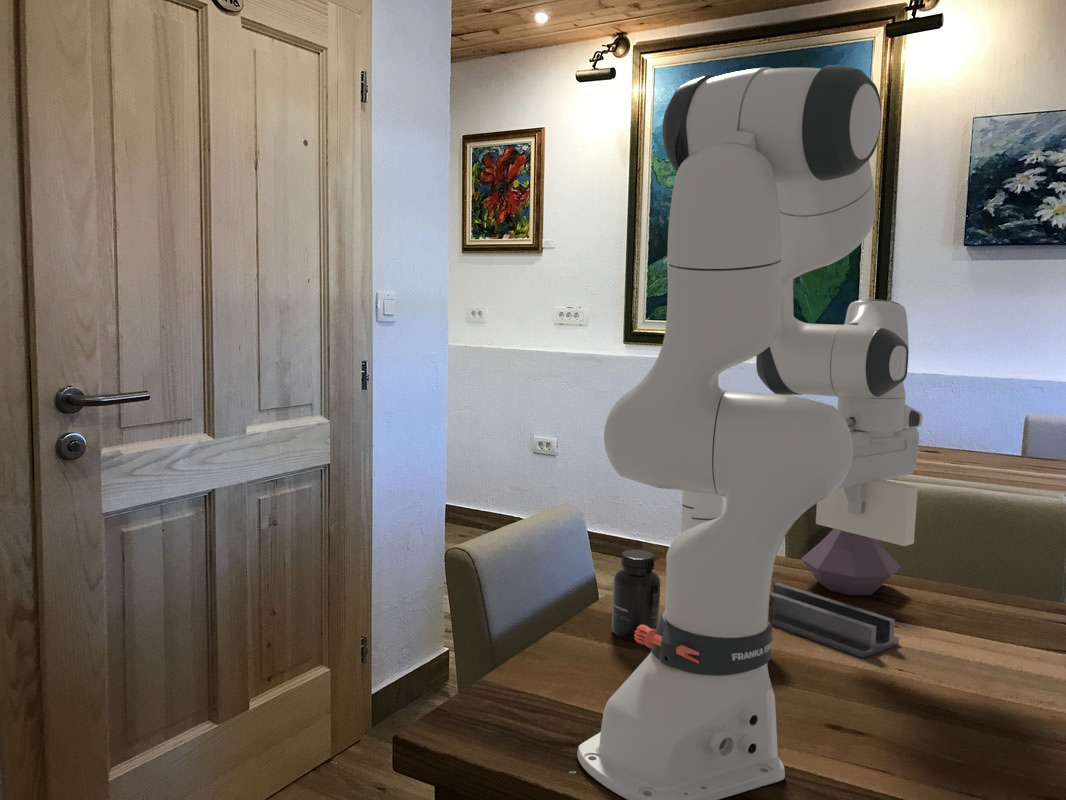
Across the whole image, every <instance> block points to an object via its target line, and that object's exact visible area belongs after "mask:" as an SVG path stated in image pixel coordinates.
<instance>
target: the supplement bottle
mask: <svg viewBox="0 0 1066 800" xmlns="http://www.w3.org/2000/svg"><path fill="white" fill-rule="evenodd" d="M655 557H656V556H655V554H654V553H652V552H650V551H648V550H642V549H629V550H624V551H623V552H622V553H621V561H620V566H621V568H620V569H619V570H617V571H616V572H615V574H614V577H613V588H612V589H613V592H612V593H613V594H612V612H611V614H612V615H611V630H612V632H613V634H614V635H615V636H616V637H618V638H621V639H622V640H627V641H633V642H636V640H635V639H634V638H636V637H634V635H635V634H636V633H635V631H636V630H638V629H637V627H638V626H640V625H646V626H648V627H649V628H650V629H655V630H656V628H657V625H658V622H659V619H660V602H661V601H660V599H661V578H660V575H659V574H658V573H657V572H656V571H655V570H654V569H655V567H656V564H655V559H656V558H655Z"/></svg>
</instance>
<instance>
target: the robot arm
mask: <svg viewBox="0 0 1066 800" xmlns="http://www.w3.org/2000/svg"><path fill="white" fill-rule="evenodd" d="M881 127H882V102H881V97H880V92H879V90H878V88H877V86H876V84H875V83H874V81H872V79H871V78H870V77H869V76H868V75H867V74H866V72H864V71H863V70H861V69H860V68H856V67H851V66H847V65H846V66H845V65H835V64H834V65H833V64H827V65H825V66H823V67H821V68H820V67H819V68H818V67H779V68H772V67H770V66H768V67H767V66H765V67H758V68H756V67H755V68H750V69H745V70H739V71H733V72H730V73H729V72H728V73H725V74H721V75H715V74H707V75H703V76H701V77H698V78H697V77H696V78H695V79H692V80H690V81H688V82H685V83H684V84H682V85H680V86H679V87H678V88H677V89H676V90H675V92H674V93H673V95H672V97H671V99H670V100H669V102H668V104H667V106H666V109H665V111H664V115H663V121H662V128H661V129H662V131H661V132H662V141H663V146H664V150H665V153H666V156H667V159H668V160H669V163H670V165H671V166H672V168H673V169H674V171H675V172H676V175H675V177H674V178H675V179H674V182H673V183H674V184H673V188H672V195H671V200H670V208H669V218H668V228H667V265H666V266H667V299H666V300H667V301H666V302H667V303H666V304H667V305H666V309H667V310H666V317H665V319H666V321H665V330H664V336H663V341H662V345H661V348H660V350H659V353H658V356H657V358H656V360H655V362H654V363H653V366H652V367H651V369H650V370H649V372H648V373H647V374H646V375H645V376H644V377H643V379H641V380H640V382H639V383H638V384H637V385H635V386H634V387H633V388H631V389H630V390H629V391H627V392H626V393H625V394H623V395H622V396H621V397H620V398H619V399H618V400H617V401H616V402H615V404H614V405H613V407H612V408H611V410H610V412H609V413H608V416H607V419H606V422H605V425H604V431H603V432H604V433H603V443H604V449H605V453H606V456H607V459H608V460H609V462H610V465H611V466H612V468H613V469H614V471H616V473H617V474H618V475H619V476H620V477H622V478H625V479H628V480H631V481H635V482H637V483H640V484H642V485H643V484H644V485H647V486H651V487H653V488H658V489H663V490H664V489H665V490H675V491H682V492H683V491H692V492H702V493H712V494H718V495H721V496H723V498H725V503H726V504H725V510H724V513H722V516H720V517H718V518H716V519H713V520H711V521H707V522H705V523H702V524H699V525H696V526H694V527H692V528H690V529H688V530H686V531H684V532H682V533H681V532H680V533H679V534H678V535H677V536H676V537H675V538H674V539H673V540H672V542H671V543H670V545H669V547H668V550H667V552H666V559H665V585H664V586H665V587H664V588H665V589H664V610H663V611H662V612H661V614H660V616H659V622H658V625H657V628H656V630H655V629H650V628H649V627H648V626H646V625H640V626H638V627H637V629H638V630H636V631H635V633H636V634H635V635H634V637H636V638H634V639H635V640H636V641H635V642H636V643H637V644H640V645H645V646H646V647H647V648H649V649H650V652H649V654H648V655H647V656H646V657H645V658H644V659H643V661H641V663H640V664H639V665H638V666H637V667H636V669H634V671H633V672H632V673H631V674H630V676H628V678H627V679H626V680H625V681H624V682H623V684H621V686H620V687H619V688H618V689H617V690H616V691H615V692H614V693H613V694H612V695H611V696H610V697H609V699H608V700H607V701H606V704H605V707H604V709H603V714H602V720H601V726H600V727H601V728H600V731H599V732H598V733H597V734H595V735H593V736H591V737H590V738H588V739H587V740H585V741H584V742H582V743H581V744H579V745H578V747H577V755H576V756H577V760H578V762H579V764H580V765H581V766H582V768H583V769H584V770H585V771H586V772H587V774H589V775H590V776H591V777H592V778H593V779H595V780H596V781H597V782H599V783H600V784H601V785H602V786H604V787H605V788H606V789H609V790H611V791H612V792H613V793H615V794H617V795H618V796H621V797H622V798H624V799H626V800H721V799H724V798H727V797H732V796H734V795H738V794H742V793H745V792H747V791H748V792H749V791H751V790H755V789H758V788H761V787H763V786H768V785H771V784H775V783H778V782H781V781H783V780H784V779H785V778H786V777H785V776H786V775H785V774H786V772H785V765H784V764H783V762H782V760H781V759H780V756H779V755H778V753H779V752H778V751H779V750H778V735H777V734H778V731H777V712H776V711H777V709H776V697H775V692H774V689H773V686H772V681H771V678H770V675H769V668H768V662H769V661H770V660H771V658H772V647H773V644H774V643H773V642H774V639H773V636H772V635H773V633H772V632H773V626H771V623H770V622H769V621H768V615H769V600H770V592H771V590H772V589H771V588H772V581H773V574H774V566H775V563H776V562H775V561H776V558H777V554H778V552H779V549H780V547H781V544H782V543H783V540H784V539H785V537H786V535H787V534H788V533H789V531H790V529H791V528H792V527H793V525H794V524H795V522H796V521H797V520H799V518H800V517H802V515H804V513H805V512H807V511H808V510H809V509H811V508H812V507H813V506H815V505H817V503H818V502H820V501H821V500H823V499H825V498H827V497H828V496H830V495H831V494H832V493H834V492H835V491H836V490H837V489H839V488H844V491H845V494H846V497H847V499H848V512H849V513H850V514H855V515H859V514H863V513H864V512H865V503H866V502H863V501H862V498H861V493H860V491H863V484H865V483H870V482H872V481H877V480H887V481H888V480H889V479H895V478H901V477H905V476H906V477H907V476H910V475H912V474H913V473H914V471H915V469H916V467H917V462H918V456H919V444H920V433H919V430H918V429H917V428H919V427H921V426H922V423H923V414H922V412H921V411H919V410H917V409H915V408H913V407H912V406H910V405H908V404H906V390H905V386H904V381H905V380H906V379H907V375H908V370H909V369H908V367H909V352H910V351H909V327H908V325H909V324H908V316H907V311H906V307H905V306H904V305H902V304H900V303H899V302H897V301H894V300H893V301H892V300H885V299H875V298H874V299H873V298H871V299H870V298H869V299H868V298H867V299H866V298H865V299H860V300H855V301H853V302H850V304H849V305H848V307H847V310H846V315H845V320H844V323H843V324H831V323H830V324H826V323H809V322H806V321H805V322H804V321H801V320H799V319H797V318H796V317H795V315H794V314H795V313H794V279H796V278H797V277H800V276H801V275H804V274H806V273H809V272H811V271H814V270H817V269H820V268H823V267H826V266H830V265H832V264H834V263H836V262H838V261H840V260H842V259H843V258H845V257H847V256H849V254H851V253H853V251H855V249H857V248H859V246H860V245H861V244H862V243H863V242H864V240H865V239H866V238H867V236H868V234H869V233H870V232H871V230H872V227H873V226H874V225H873V224H874V222H875V217H876V194H875V186H874V185H875V184H874V178H873V175H872V174H873V173H872V168H871V163H870V159H871V158H872V156H873V155H874V152H875V151H876V148H877V145H878V142H879V138H880V134H881ZM753 358H756V360H755V361H756V362H755V363H756V364H755V365H756V372H757V376H758V378H759V379H760V380H761V381H762V383H763V384H764V385H765V386H766V387H767V388H768V389H769V390H770V391H771V392H772V393H763V392H762V393H761V392H743V391H730V390H729V391H728V390H727V389H726V390H724V389H721V387H719V375H720V374H722V372H724V371H726V370H728V369H730V368H732V367H734V366H737V365H739V364H743V363H745V362H746V361H749V360H751V359H753ZM796 395H798V396H796ZM800 395H801V396H802V395H812V396H824V397H825V396H827V397H834V398H835V397H836V398H837V405H836V406H837V407H835V406H834V405H831V404H827V403H824V402H820V401H816V400H814V399H810V398H804V397H800Z"/></svg>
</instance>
